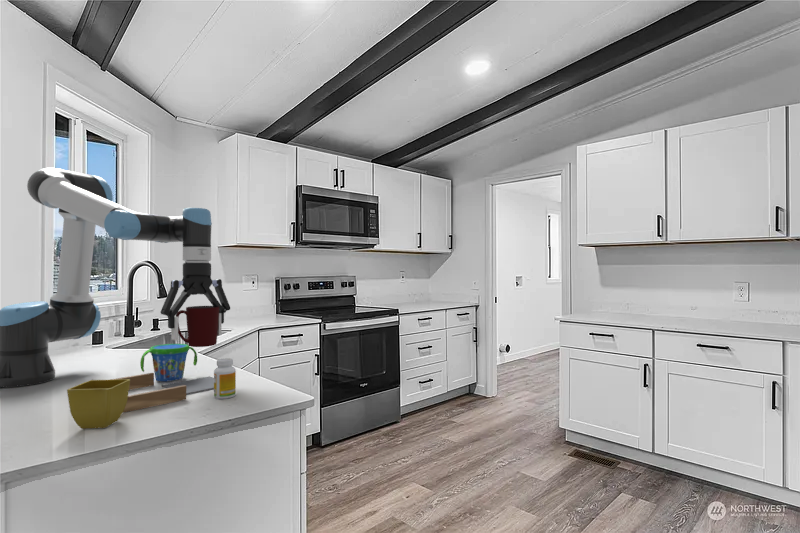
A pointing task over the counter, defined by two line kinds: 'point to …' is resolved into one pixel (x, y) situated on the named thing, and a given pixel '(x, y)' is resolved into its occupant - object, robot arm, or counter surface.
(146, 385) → the oak caddy
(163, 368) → the snack cup
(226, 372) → the supplement bottle
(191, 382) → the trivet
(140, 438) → the counter surface
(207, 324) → the mug
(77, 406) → the flower pot
